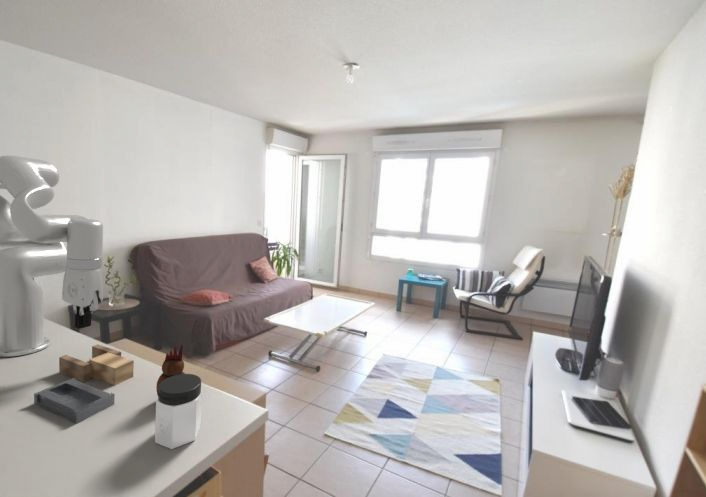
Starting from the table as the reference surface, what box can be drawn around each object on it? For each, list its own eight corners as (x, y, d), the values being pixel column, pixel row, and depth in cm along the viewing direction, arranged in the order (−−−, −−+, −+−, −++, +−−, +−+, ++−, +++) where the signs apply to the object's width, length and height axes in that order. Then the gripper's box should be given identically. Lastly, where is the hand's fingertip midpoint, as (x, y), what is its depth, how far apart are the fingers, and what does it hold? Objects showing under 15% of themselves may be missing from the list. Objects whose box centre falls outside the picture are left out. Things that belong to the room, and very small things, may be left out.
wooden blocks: (59, 372, 88) (59, 357, 87) (97, 358, 97) (97, 344, 97) (83, 382, 85) (83, 366, 84) (120, 366, 94) (121, 352, 93)
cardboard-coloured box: (89, 376, 88) (89, 359, 87) (108, 368, 93) (108, 352, 92) (115, 386, 85) (115, 368, 84) (133, 377, 89) (133, 360, 89)
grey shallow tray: (34, 404, 75) (34, 393, 74) (73, 387, 82) (73, 377, 82) (76, 423, 70) (76, 412, 69) (114, 404, 77) (114, 394, 77)
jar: (145, 440, 67) (147, 387, 66) (177, 418, 75) (179, 369, 73) (179, 454, 64) (181, 398, 63) (208, 429, 72) (211, 379, 71)
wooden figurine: (191, 396, 83) (193, 341, 81) (177, 410, 77) (179, 351, 76) (167, 392, 84) (169, 338, 82) (151, 405, 78) (152, 347, 76)
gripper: (51, 260, 87) (50, 324, 89) (87, 270, 82) (85, 337, 85) (82, 257, 94) (80, 317, 96) (117, 266, 90) (115, 329, 92)
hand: (83, 326), depth 91 cm, fingers closed
